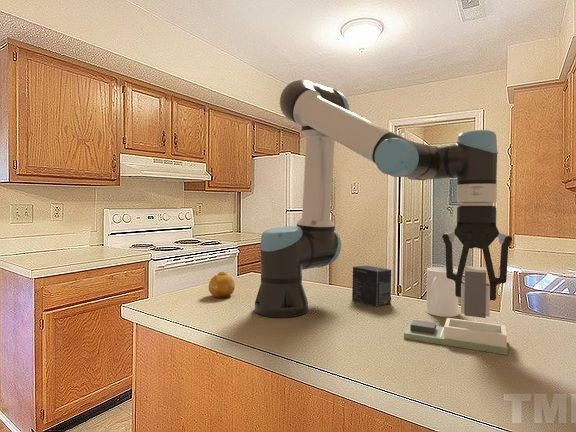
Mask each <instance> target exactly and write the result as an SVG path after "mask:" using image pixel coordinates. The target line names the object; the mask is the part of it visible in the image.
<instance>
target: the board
mask: <svg viewBox="0 0 576 432" xmlns="http://www.w3.org/2000/svg"><path fill="white" fill-rule="evenodd" d="M403 339H407V340H412V341H419V342H425V343H430V344H431V343H432V344H436V345H443V346H450V347H456V348H462V349H467V350H468V349H469V350H473V351H479V350H480V352H485V351H486V352H485V353H491V352H492V354H499V355H506V356H508V355H509V353H508V352H509V350H508V349H509V348H508V345H507V346H506V348H504V347H498V346H492V345H485V344H479V343H472V342H466V341H459V340H453V339H446V338H444V326H439V325H437V323H436V322H433V321H431V322H430V321H427V320H425V321H424V320H419V319H412V321H411V322H410V323H409V324H408V326H407V328H406V329H405V330H404V333H403Z"/></svg>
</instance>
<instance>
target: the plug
mask: <svg viewBox="0 0 576 432" xmlns="http://www.w3.org/2000/svg"><path fill="white" fill-rule="evenodd" d="M464 281H465V302H464V314H463V316H466V317H473V318H481V319H486V318H487V316H486V283H487V268H486V266H485V267H483V266H470V265H465V268H464Z"/></svg>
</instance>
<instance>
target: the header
mask: <svg viewBox="0 0 576 432" xmlns="http://www.w3.org/2000/svg"><path fill="white" fill-rule="evenodd" d="M443 327H444V338H446V339H453V340H459V341H466V342H472V343H479V344H485V345H492V346H498V347H504V348H506V346H507V347H508V341H507V340H508V339H507V336H508V335H507V330H506V324H499V323H498V324H497V323H491V322H489V323H488V322H482V321H480V322H479V321H475V320H467V319H466V320H465V319H458V318H454V317H446V320H445V323H444V326H443Z"/></svg>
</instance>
